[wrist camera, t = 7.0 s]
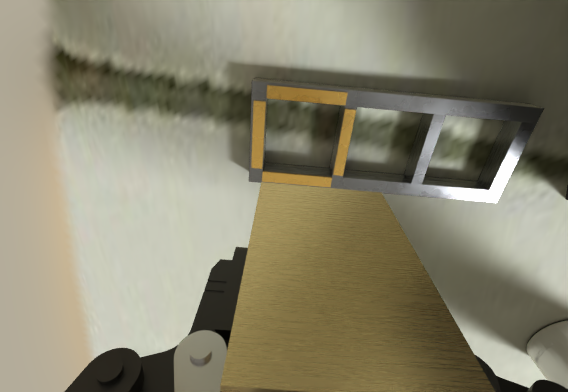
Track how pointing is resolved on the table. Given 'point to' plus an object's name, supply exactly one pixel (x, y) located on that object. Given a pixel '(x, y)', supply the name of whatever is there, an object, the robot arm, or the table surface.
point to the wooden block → (340, 303)
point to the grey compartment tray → (413, 181)
